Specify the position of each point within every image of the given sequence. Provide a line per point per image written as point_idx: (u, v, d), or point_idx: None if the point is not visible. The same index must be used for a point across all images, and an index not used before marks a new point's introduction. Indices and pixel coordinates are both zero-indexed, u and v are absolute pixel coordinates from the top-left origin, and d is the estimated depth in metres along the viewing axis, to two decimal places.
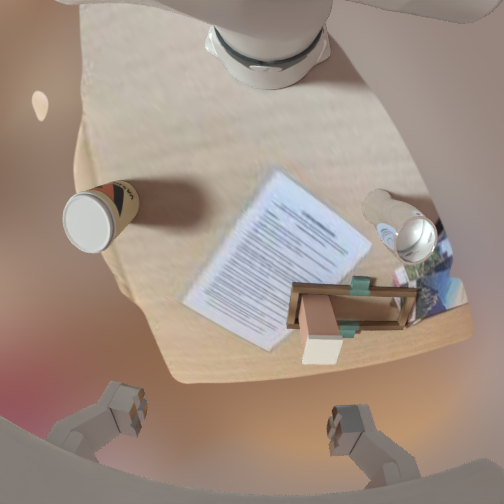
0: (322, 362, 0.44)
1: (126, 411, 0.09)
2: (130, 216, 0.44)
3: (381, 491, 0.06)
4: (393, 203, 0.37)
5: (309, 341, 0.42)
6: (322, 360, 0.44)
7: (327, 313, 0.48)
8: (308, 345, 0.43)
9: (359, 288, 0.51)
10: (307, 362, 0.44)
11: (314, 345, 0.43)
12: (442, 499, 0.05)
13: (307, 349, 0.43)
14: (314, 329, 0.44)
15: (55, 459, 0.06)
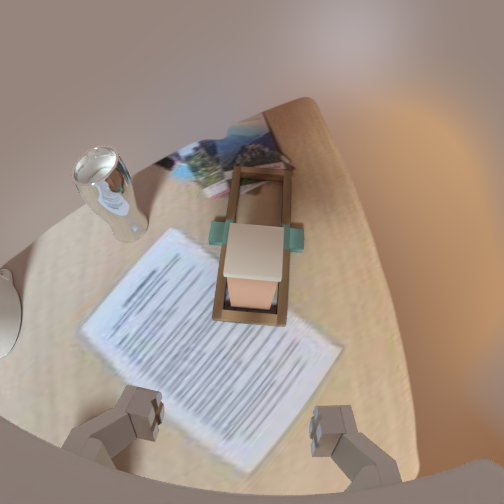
0: (278, 247, 0.29)
1: (145, 416, 0.09)
2: None
3: (381, 491, 0.06)
4: None
5: (228, 271, 0.28)
6: (274, 248, 0.29)
7: None
8: (237, 272, 0.28)
9: (221, 232, 0.42)
10: (278, 270, 0.28)
11: (238, 263, 0.28)
12: (441, 499, 0.05)
13: (246, 273, 0.28)
14: None
15: (55, 459, 0.06)
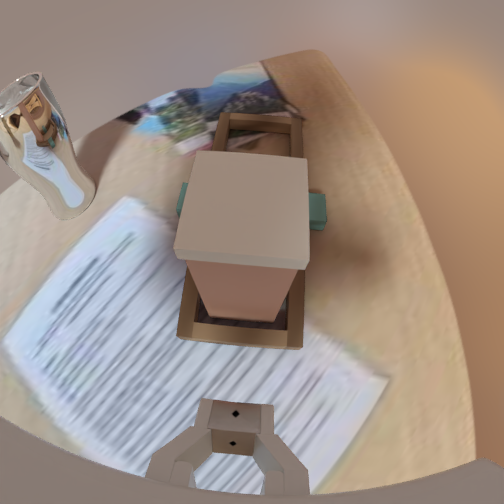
0: (299, 194, 0.13)
1: (230, 430, 0.09)
2: None
3: (381, 491, 0.06)
4: None
5: (184, 244, 0.12)
6: (290, 195, 0.13)
7: None
8: (205, 246, 0.12)
9: None
10: (301, 242, 0.12)
11: (207, 226, 0.12)
12: (442, 499, 0.05)
13: (226, 248, 0.12)
14: None
15: (55, 459, 0.06)
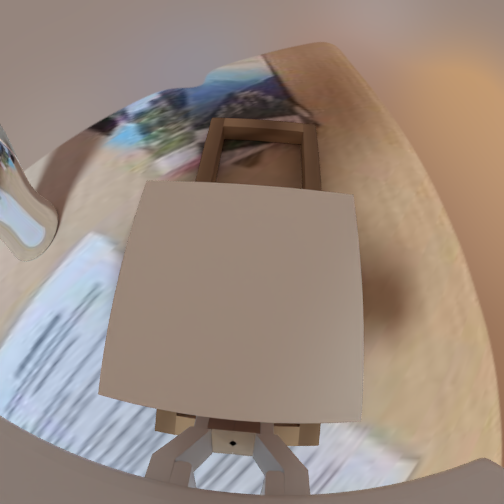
0: (343, 276, 0.06)
1: (230, 430, 0.09)
2: None
3: (381, 491, 0.06)
4: None
5: (117, 389, 0.05)
6: (326, 280, 0.06)
7: None
8: (155, 398, 0.05)
9: None
10: (348, 385, 0.05)
11: (158, 354, 0.06)
12: (442, 499, 0.05)
13: (195, 406, 0.05)
14: None
15: (55, 459, 0.06)
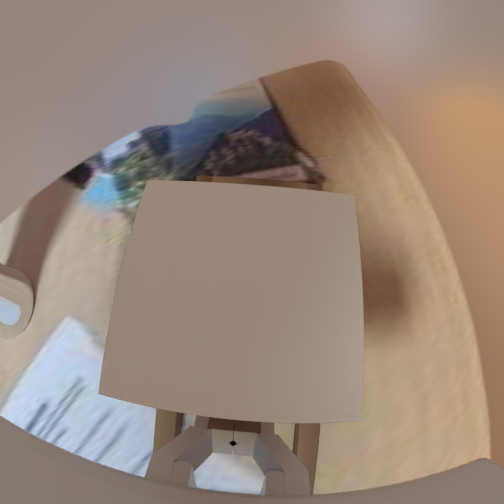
0: (343, 276, 0.06)
1: (230, 429, 0.09)
2: None
3: (381, 491, 0.06)
4: None
5: (118, 389, 0.05)
6: (327, 280, 0.06)
7: None
8: (155, 398, 0.05)
9: None
10: (348, 385, 0.05)
11: (159, 354, 0.06)
12: (442, 499, 0.05)
13: (195, 405, 0.05)
14: None
15: (55, 459, 0.06)
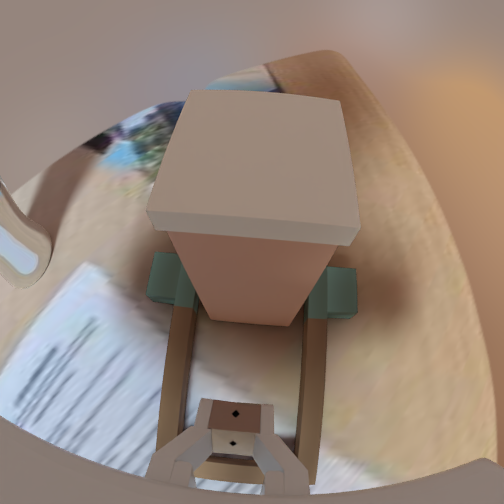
0: (334, 139, 0.08)
1: (230, 430, 0.09)
2: None
3: (381, 491, 0.06)
4: None
5: (163, 204, 0.07)
6: (322, 140, 0.08)
7: None
8: (195, 206, 0.07)
9: (172, 278, 0.18)
10: (346, 201, 0.07)
11: (200, 177, 0.08)
12: (441, 499, 0.05)
13: (228, 208, 0.07)
14: None
15: (55, 459, 0.06)
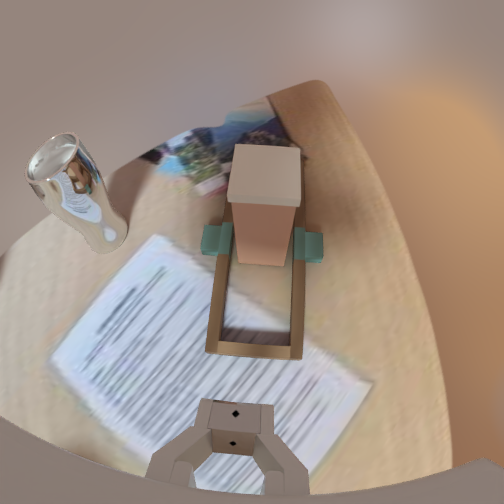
0: (295, 167, 0.23)
1: (230, 430, 0.09)
2: None
3: (381, 491, 0.06)
4: None
5: (233, 192, 0.22)
6: (290, 167, 0.23)
7: None
8: (244, 193, 0.22)
9: (216, 239, 0.33)
10: (296, 190, 0.22)
11: (245, 183, 0.22)
12: (441, 499, 0.05)
13: (256, 193, 0.22)
14: None
15: (55, 459, 0.06)
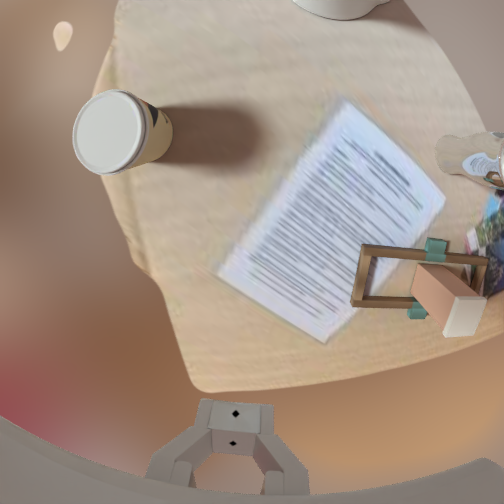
0: (463, 333, 0.30)
1: (230, 430, 0.09)
2: (163, 141, 0.33)
3: (381, 491, 0.06)
4: None
5: (459, 303, 0.29)
6: (463, 331, 0.30)
7: (454, 279, 0.35)
8: (457, 309, 0.29)
9: (436, 251, 0.39)
10: (450, 335, 0.30)
11: (462, 308, 0.29)
12: (442, 499, 0.05)
13: (455, 315, 0.29)
14: (456, 292, 0.31)
15: (55, 459, 0.06)
